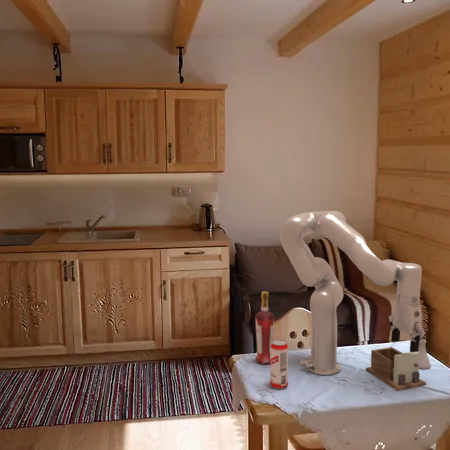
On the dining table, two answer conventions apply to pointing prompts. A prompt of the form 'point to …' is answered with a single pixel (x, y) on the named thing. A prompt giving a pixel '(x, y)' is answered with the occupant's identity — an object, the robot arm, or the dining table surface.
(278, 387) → the beer can
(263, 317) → the liquor
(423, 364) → the flask
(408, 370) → the block
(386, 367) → the cabinet
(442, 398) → the dining table surface
